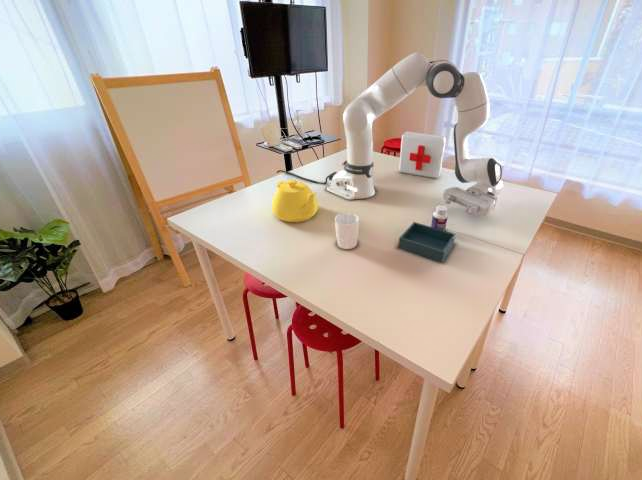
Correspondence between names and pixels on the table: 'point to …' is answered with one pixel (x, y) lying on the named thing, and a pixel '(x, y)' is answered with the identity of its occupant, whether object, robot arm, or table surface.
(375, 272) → the table surface
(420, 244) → the tote
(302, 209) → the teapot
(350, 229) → the white cup
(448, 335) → the table surface
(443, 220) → the pill bottle
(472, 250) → the table surface
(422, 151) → the bevelled white case
